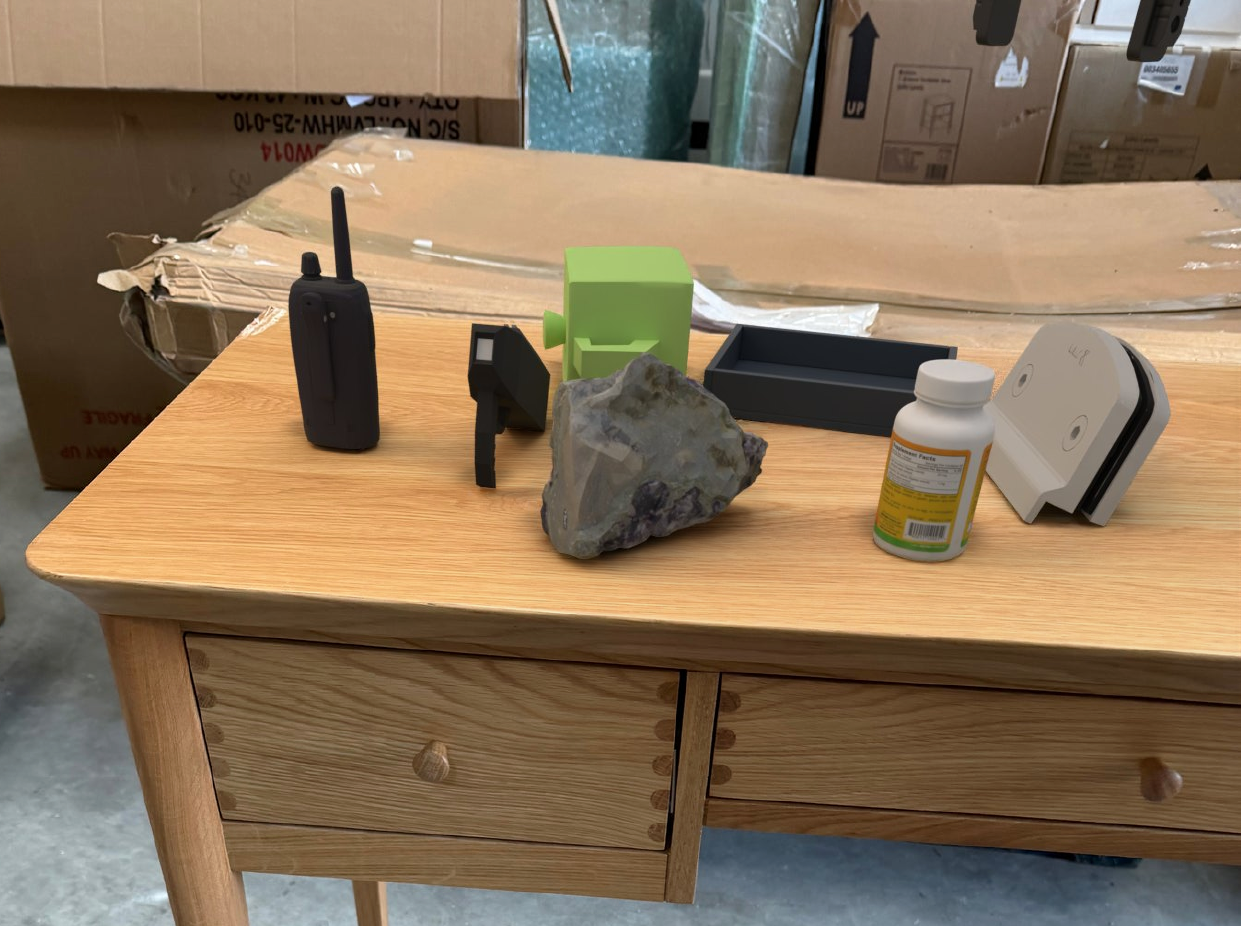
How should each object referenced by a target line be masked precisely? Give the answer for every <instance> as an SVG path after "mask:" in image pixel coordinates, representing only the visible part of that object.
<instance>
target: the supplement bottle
mask: <svg viewBox="0 0 1241 926" xmlns="http://www.w3.org/2000/svg"><path fill="white" fill-rule="evenodd" d="M995 380H996V372H995V371H994V370H993V369H992V368H991V367H989V366H987V365H985V364H982V363H978V362H974V361H968V360H963V359H956V360H951V359H943V360H932V361H928V362H924V363H922V364H921V365H920V367H919V369H918V374H917V379H916V383H915V390H914V394H915V396H916V397H917V400H916V401H915V402H912V403H910V404H907V405H906V406H904V407H903V408H902V409H901V410H900V411H899V412H898V414H897V416H896V418H895V422H894V426H893V431H892V436H891V437H890V442H889V447H888V451H887V457H886V462H885V468H884V473H883V478H882V483H881V487H880V493H879V498H878V503H877V508H876V513H875V519H874V525H873V530H872V537H873V540H874V542H875V544H876V546H878V547H879V548H880V549H882V550H883V551H884V552H887V553H888V554H891V555H894V556H896V557H899V558H903V559H906V560H911V561H918V562H929V563H930V562H932V563H933V562H944V561H948V560H951V559H954V558H956V557H958V556H960V555H961V554H962V553H963V552H964V551H965V550H966V548H967V546H968V543H969V538H970V534H971V531H972V526H973V523H974V518H975V514H976V510H977V506H978V503H979V502H978V501H979V497H980V494H981V490H982V486H983V482H984V480H985V475H986V467H987V463H988V459H989V455H990V451H991V448H992V444H993V439H994V433H995V423H994V420H993V418H992V417H991V415H990V414H989V413H988V412H986V411H985V410H983V406H984V405H985V404H987V403H988V402H989V401H990V400H991V397H992V394H993V390H994V389H993V388H994V384H995Z"/></svg>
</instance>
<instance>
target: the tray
mask: <svg viewBox="0 0 1241 926" xmlns="http://www.w3.org/2000/svg"><path fill="white" fill-rule="evenodd" d="M958 349H959V347H958V346H952V345H943V344H936V343H935V344H933V343H925V342H914V341H905V340H896V339H886V338H878V337H877V338H876V337H868V336H859V335H850V334H849V335H848V334H841V333H840V334H838V333H829V332H820V331H812V330H802V329H792V328H782V327H774V326H773V327H771V326H762V325H755V324H754V325H753V324H743V323H736V324H735V325H734V327H733V328H732V330H731V331H730V333H729V334H728V336H727V337H726V339H725V340H724V341H723V343H722V344H721V345H720V347H719V348H718V350H717V351H716V353H715V354H714V356H713V358H711V360H710V362H709V363H708V365H707V366H706V367H705V368H704V375H703V384H702V386H703V387H704V388H706V389H707V390H709V391H710V392H711V393H712V394H714V395H715V396H716V397H717V398H718V399H719V400H721V401H722V402H724V403H725V404H726V406H727V408H728V409H729V412H730V415H731V416H732V417H733V419H739V420H745V421H746V420H747V421H755V422H764V423H773V424H779V425H789V426H797V427H805V428H812V429H820V430H821V429H822V430H830V431H837V432H847V433H854V434H861V435H862V434H863V435H871V436H878V437H888V438H891V436H892V431H893V426H894V422H895V418H896V416H897V414H898V412H899V411H900V410H901V409H902V408H903V407H904V406H906V405H907V404H910V403H912V402H915V401H916V400H917V397H916V396H915V394H914V390H915V383H916V379H917V374H918V369H919V367H920V365H921V364H922V363H924V362H928V361H932V360H943V359H951V360H958V359H957V358H958Z"/></svg>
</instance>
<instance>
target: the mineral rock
mask: <svg viewBox="0 0 1241 926" xmlns="http://www.w3.org/2000/svg"><path fill="white" fill-rule="evenodd" d="M552 399H553V400H552V405H551V409H552V410H551V417H552V420H553V423H552V429H551V434H550V437H549V439H548V447H549V448H550V449H552V453H551V465H552V467H551V471H550V475H549V476H550V477H549V480H548V481H547V483H545V484H544V486H543V490H542V493H541V502H542V505H541V507H540V511H539V513H540V520H541V526H542V532H544V534H545V535H547V536H548V537H549V540H550V543H551V546H552V548H554V550H555V552H557V553H559V554H566V555H569V556H573V557H574V558H578V559H580V560H581V559H582V560H588V559H593V558H596V557H598V556H600V555H601V553H602V552H609V551H610V552H611V551H616V550H617V549H619V548H621V549H630V548H633V547H635V546H638V545H639V544H642V543H643V542H646V541H647V540H648V539H649V538H650V536H653V537H655V538H662V537H663V538H664V537H669V536H670V535H671V534H672V533H673V532H676V531H677V530H678V531H679V530H682V529H685V528H689V527H691V526H696V525H704V524H706V523H708V522H709V521H712V520H713V519H714V518H715V517H718V515H720V514H721V513H723V512H724V511H725V510H726V509H727V508H728V506H730V505H731V503H732V502H733V501H734V499H735V498H736V497H737V496H738V495H740V494H741V493H742V492H743V491H745V490H746V489H748V488H750V487H752V486H753V484H755V483H756V481H757V478H758V477H759V476H760V475H761V474H762V473H763V469H762V468H761V466H762V464H763V463H762V462H763V460H764V457H765V456H767V455H766V454H767V449H768V448H769V443H768V441H767V440H765V438H762V437H761V436H758V435H757V434H755V433H753V432H749V431H747V432H745V431H744V430H743V428H741V426H740V425H739V424H738V423H737V421H736V420H735V418H733V417H732V416H731V415H730V412H729V409H728V408H727V406H726V404H725V403H724V402H722V401H721V400H719V399H718V398H717V397H716V396H715V395H714V394H712V393H711V392H710V391H709V390H707V389H706V388H704V387H703V384H702V383H700V382H699V381H698V380H696V379H694V378H690V377H688V376H686V377H684V375H683V374H682V372H681V371H680V370H678V369H677V368H674V367H673V366H671V365H669V364H667V363H664V362H662V361H661V360H660V359H659V358H657V357H655V356H654V355H652V354H650V353H646V352H642V354H641V355H640V356H639V357H638V358H637V359H632V360H631V361H630V362H629V363H628V364H627V365H626V366H625V367H624V368H623V369H622V370H616V371H615V372H614V373H612V374H611V375H610V376H608V377H606V378H604V379H603V378H600V377H598V378H595V379H592V380H589V379H586V378H583V379H575V380H569V381H563V380H562V381H560V382H559V384H558V387H557V389H556V390H555V393H554V395H553V398H552Z"/></svg>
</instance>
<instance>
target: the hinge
mask: <svg viewBox="0 0 1241 926" xmlns="http://www.w3.org/2000/svg"><path fill="white" fill-rule="evenodd" d="M983 410H985V411H986V412H988V413H989V414H990V415H991V417H992V418H993V420H994V423H995V433H994V439H993V444H992V448H991V451H990V455H989V459H988V463H987V467H986V471H985V473H987V475H988V476H989V478H991V480H992V481H993V482H994V484H995V485H996V487H997V488H998V489H999V490H1000V491H1001V493H1002V494H1003V496H1004V497H1005V498H1006V500H1007V501H1008V502H1009V503H1010V505H1011V506H1012V508H1014V510H1015V511H1016V512H1017V514H1018V515H1019V516H1020V518H1021V519H1022V520H1023V521H1024V522H1025V523H1028V524H1030V525H1031V524H1032V523H1033V522H1034V520H1035V518H1037V516H1038V514H1039V512H1040V511H1041V510H1042V508H1043V507H1044V505H1045V504H1046V502H1047V503H1049V504H1051V505H1053V506H1055V507H1057V508H1058V509H1061V510H1063V511H1065V512H1067V513H1070V514H1074V511H1075V510H1078V511H1079V512H1081V513H1082V514H1083V515H1084V517H1086V519H1087V520H1088V521H1089V522H1090V523H1093V524H1096V525H1099V526H1102V527H1106V525H1107V523H1108V522H1109V520H1110V518H1111V517H1112V515H1113V513H1114V512H1115V511H1116V509H1117V508H1118V506H1119V504H1120V502H1121V501H1122V499H1123V497H1124V495H1125V494H1126V493H1127V491H1128V489H1129V488H1130V486H1131V484H1132V483H1133V481H1134V479H1135V478H1136V476H1137V475H1138V473H1139V471H1140V469H1142V467H1143V465H1144V463H1145V462H1146V460H1147V458H1148V457H1149V455H1150V453H1151V452H1152V450H1153V448H1154V447H1155V445H1156V444H1157V442H1158V441H1159V439H1160V438H1161V435H1162V434H1163V432H1164V431H1165V429H1166V427H1167V426H1168V424H1169V421H1170V419H1171V415H1172V413H1171V412H1172V410H1171V405H1170V401H1169V396H1168V393H1167V391H1166V387H1165V384H1164V382H1163V379H1162V378H1161V375H1160V374H1159V373H1158V371H1157V369H1156V368H1155V366H1154V365H1153V364H1152V362H1151V361H1150V360H1149V359H1148V358H1147V357H1146V356H1144V355H1143V353H1141V351H1139V350H1138V349H1137V348H1136V347H1134V346H1133V344H1131V343H1130V342H1128V341H1126V340H1124V339H1123V338H1121V337H1120V336H1115V335H1113V334H1111V333H1109V332H1108V331H1106V330H1104V329H1102V328H1100V327H1096V326H1093V325H1089V324H1086V323H1085V324H1084V323H1081V322H1075V321H1069V320H1068V321H1055V322H1048V323H1045V324H1044V325H1042V326H1040V328H1039V329H1037V331H1036V332H1035V333H1034V335H1033V337H1032V338H1031V339H1030V341H1029V342H1028V344H1027V346H1026V347H1025V349H1024V350H1023V352H1022V353H1021V354H1020V356H1019V358H1018V359H1017V360H1016V362H1015V363H1014V365H1013V367H1012V368H1011V369H1010V371H1009V372H1008V374H1007V376H1006V377H1005V379H1004V380H1003V381H1002V383H1001V384H1000V386H999V388H998V389H997V391H996V392H995V393H994V395H993V396H992V398H990V400H989V402H988V403H987V404H985V405H984V406H983Z"/></svg>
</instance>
